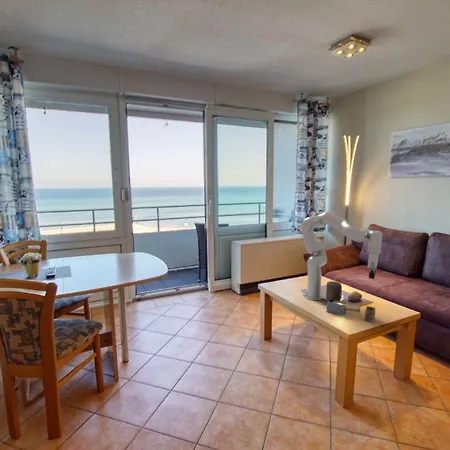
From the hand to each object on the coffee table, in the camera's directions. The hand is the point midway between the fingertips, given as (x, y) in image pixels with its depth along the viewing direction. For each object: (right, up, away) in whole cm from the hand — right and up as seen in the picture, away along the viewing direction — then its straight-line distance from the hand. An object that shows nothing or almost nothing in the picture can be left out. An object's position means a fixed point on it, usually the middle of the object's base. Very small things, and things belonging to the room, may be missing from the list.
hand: (372, 276), depth 192 cm
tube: (-16, -22, +2) cm, 27 cm away
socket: (-4, -26, -5) cm, 27 cm away
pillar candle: (-17, -22, +22) cm, 36 cm away
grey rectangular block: (-21, -24, +6) cm, 33 cm away
